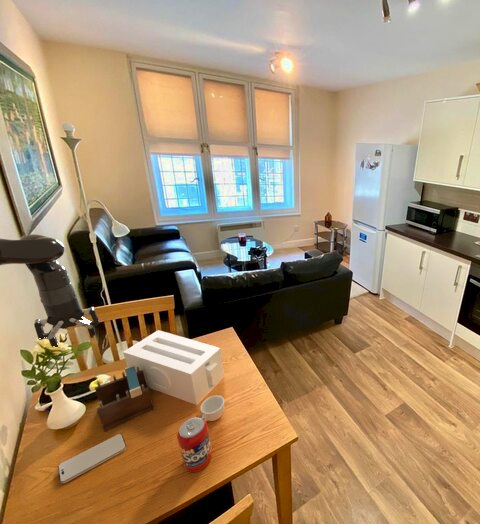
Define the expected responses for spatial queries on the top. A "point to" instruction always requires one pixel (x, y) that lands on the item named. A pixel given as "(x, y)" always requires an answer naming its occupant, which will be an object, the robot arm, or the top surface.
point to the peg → (133, 381)
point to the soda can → (195, 444)
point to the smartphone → (91, 458)
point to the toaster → (177, 365)
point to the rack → (122, 401)
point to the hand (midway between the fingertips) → (75, 341)
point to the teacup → (212, 408)
